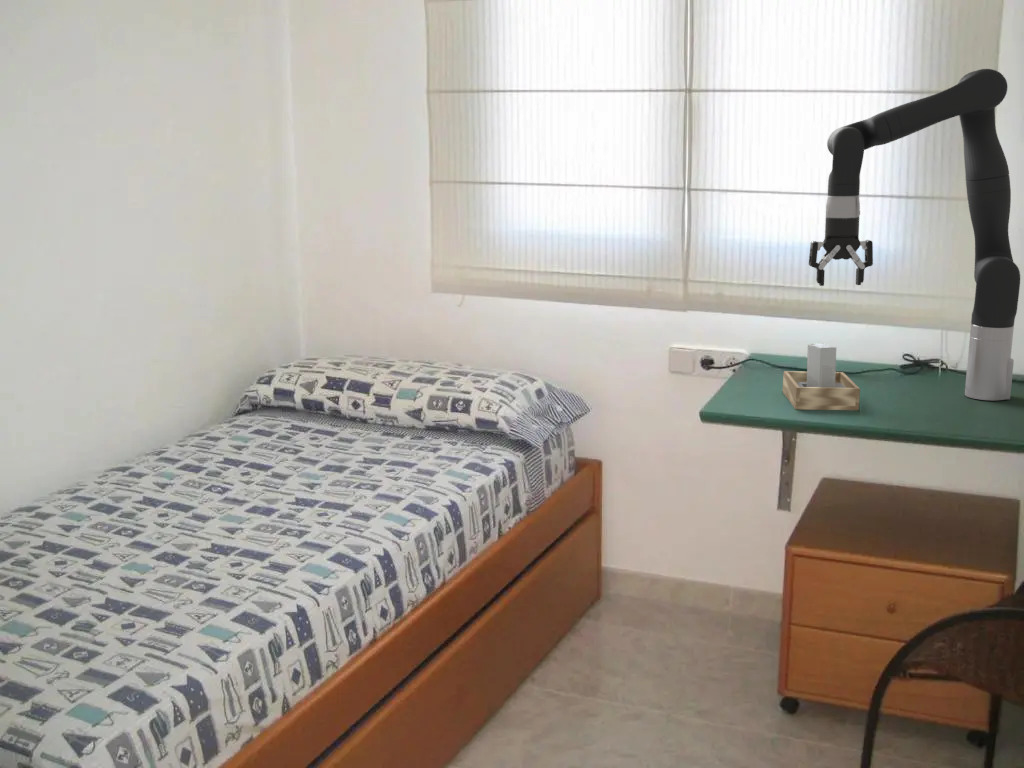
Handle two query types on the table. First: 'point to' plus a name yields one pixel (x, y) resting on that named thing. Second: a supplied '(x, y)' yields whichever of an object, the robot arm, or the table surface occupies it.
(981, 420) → the table surface
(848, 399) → the crate
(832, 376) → the skincare box
